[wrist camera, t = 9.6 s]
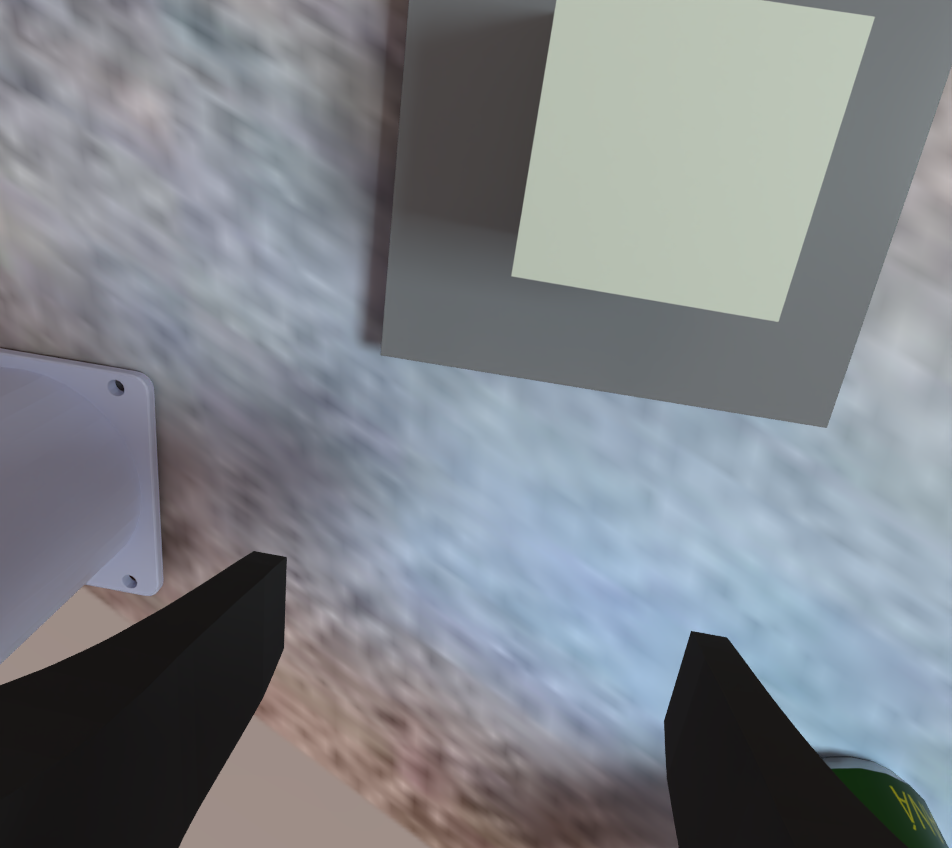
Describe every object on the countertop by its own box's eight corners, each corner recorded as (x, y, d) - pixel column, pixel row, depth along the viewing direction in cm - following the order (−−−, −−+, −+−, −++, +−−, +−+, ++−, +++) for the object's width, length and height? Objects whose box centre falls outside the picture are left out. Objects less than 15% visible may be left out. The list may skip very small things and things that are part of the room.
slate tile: (389, 344, 21) (380, 355, 20) (432, -171, 16) (423, -189, 15) (815, 413, 20) (826, 428, 19) (990, -107, 16) (1015, -122, 15)
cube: (527, 236, 18) (511, 275, 14) (565, 11, 17) (561, -30, 12) (727, 270, 18) (778, 322, 14) (790, 45, 16) (874, 17, 12)
